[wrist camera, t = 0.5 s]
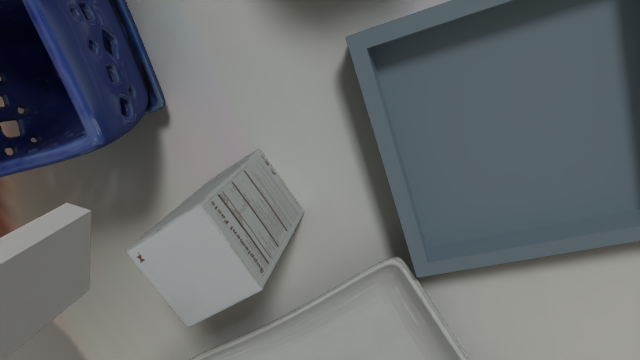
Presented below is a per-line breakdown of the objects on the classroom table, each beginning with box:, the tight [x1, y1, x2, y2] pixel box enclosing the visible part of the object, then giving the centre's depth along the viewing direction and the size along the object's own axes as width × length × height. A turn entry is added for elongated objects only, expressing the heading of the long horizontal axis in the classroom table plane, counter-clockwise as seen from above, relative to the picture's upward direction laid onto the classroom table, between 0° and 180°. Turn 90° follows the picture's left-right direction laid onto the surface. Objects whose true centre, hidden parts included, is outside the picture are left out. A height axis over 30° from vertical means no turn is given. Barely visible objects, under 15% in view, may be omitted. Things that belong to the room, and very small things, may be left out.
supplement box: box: [126, 150, 304, 327], centre depth 35 cm, size 7×7×13 cm
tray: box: [346, 0, 640, 278], centre depth 32 cm, size 20×20×4 cm
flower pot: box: [0, 0, 165, 177], centre depth 33 cm, size 13×13×12 cm
